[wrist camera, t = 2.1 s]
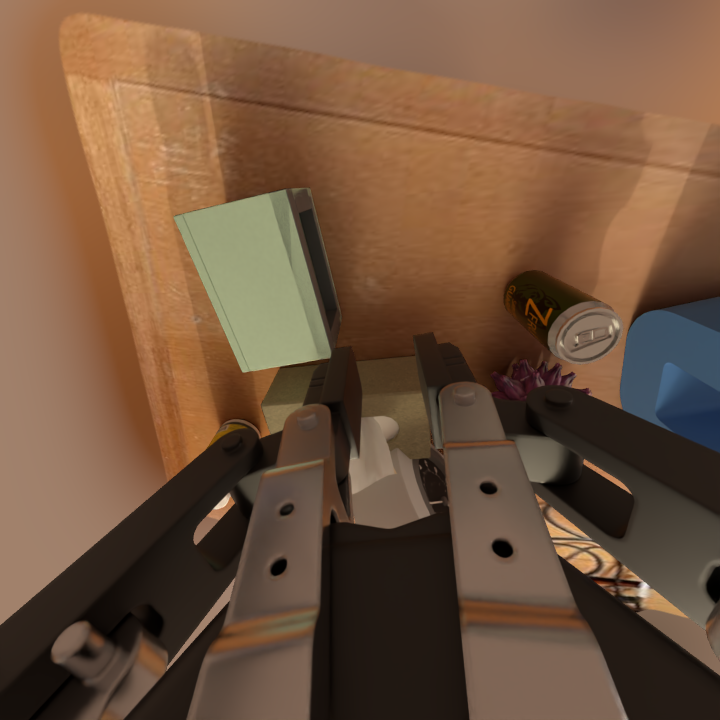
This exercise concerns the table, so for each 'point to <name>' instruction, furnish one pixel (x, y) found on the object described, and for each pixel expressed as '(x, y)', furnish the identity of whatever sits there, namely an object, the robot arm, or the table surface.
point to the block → (676, 370)
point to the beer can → (563, 317)
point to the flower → (530, 380)
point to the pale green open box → (266, 277)
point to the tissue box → (366, 413)
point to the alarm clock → (404, 492)
